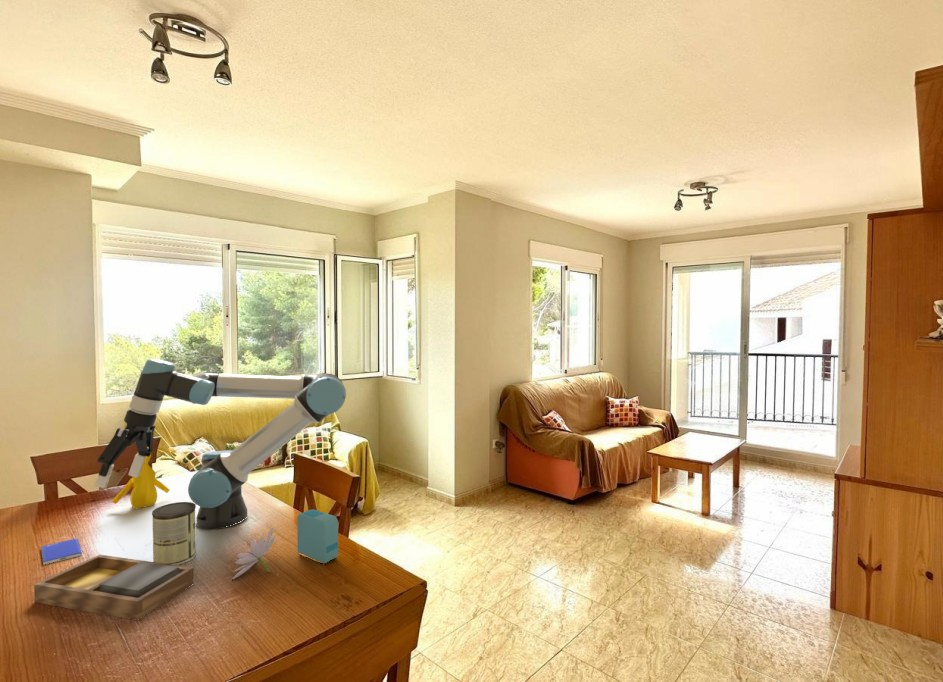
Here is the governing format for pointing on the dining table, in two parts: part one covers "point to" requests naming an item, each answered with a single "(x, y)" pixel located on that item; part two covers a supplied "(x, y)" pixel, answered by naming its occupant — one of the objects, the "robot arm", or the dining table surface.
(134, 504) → the figure statuette
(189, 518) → the coffee can
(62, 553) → the hard drive
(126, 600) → the wooden tray
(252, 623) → the dining table surface
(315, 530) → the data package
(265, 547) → the water lily
